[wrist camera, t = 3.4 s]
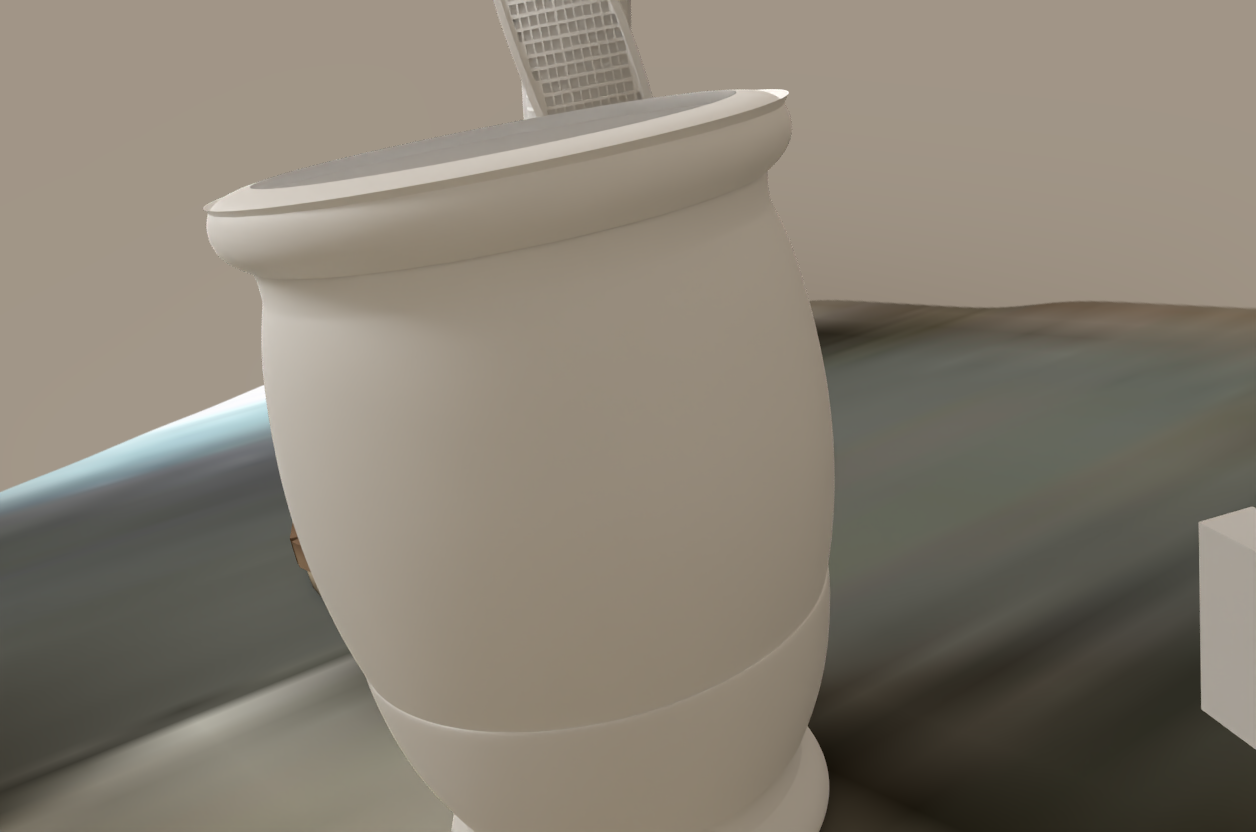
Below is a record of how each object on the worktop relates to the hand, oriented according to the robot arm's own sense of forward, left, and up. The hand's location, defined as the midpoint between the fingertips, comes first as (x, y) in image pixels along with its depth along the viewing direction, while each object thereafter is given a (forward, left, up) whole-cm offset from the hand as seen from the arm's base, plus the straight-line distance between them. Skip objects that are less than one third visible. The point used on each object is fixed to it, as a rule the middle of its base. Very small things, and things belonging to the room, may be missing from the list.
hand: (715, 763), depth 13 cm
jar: (0, +10, -8) cm, 13 cm away
